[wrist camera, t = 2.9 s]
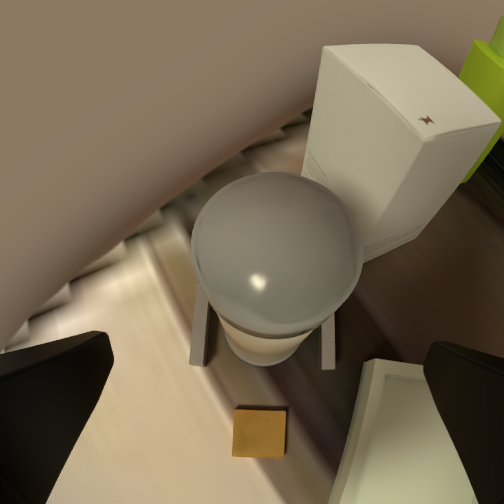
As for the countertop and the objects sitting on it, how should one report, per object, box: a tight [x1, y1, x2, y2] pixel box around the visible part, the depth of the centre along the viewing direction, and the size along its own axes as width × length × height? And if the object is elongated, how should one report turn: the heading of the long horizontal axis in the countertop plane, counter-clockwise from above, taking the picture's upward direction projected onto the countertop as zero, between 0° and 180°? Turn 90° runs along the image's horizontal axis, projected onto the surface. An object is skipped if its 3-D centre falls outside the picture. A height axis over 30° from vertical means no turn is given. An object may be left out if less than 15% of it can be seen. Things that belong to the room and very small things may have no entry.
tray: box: [327, 358, 478, 504], centre depth 14 cm, size 13×13×2 cm
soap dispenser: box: [458, 16, 504, 183], centre depth 17 cm, size 6×7×20 cm
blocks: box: [189, 283, 335, 458], centre depth 17 cm, size 10×8×1 cm
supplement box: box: [301, 44, 502, 263], centre depth 17 cm, size 7×7×13 cm
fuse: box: [191, 172, 364, 367], centre depth 14 cm, size 5×5×12 cm
